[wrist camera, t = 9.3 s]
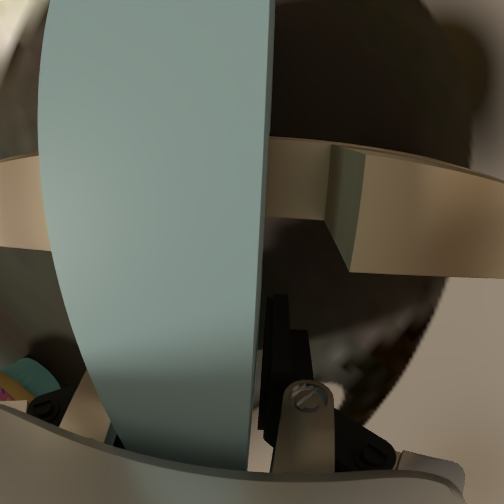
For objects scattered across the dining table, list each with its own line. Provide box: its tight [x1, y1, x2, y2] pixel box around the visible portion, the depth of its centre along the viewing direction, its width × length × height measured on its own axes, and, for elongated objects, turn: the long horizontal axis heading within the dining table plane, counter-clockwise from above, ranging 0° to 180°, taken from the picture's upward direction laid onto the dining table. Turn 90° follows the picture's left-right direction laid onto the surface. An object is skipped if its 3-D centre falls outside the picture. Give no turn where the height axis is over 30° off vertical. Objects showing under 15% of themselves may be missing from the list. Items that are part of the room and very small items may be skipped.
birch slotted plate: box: [0, 136, 504, 279], centre depth 9 cm, size 16×2×7 cm, turn 88°
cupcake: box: [0, 358, 61, 403], centre depth 14 cm, size 9×8×12 cm
